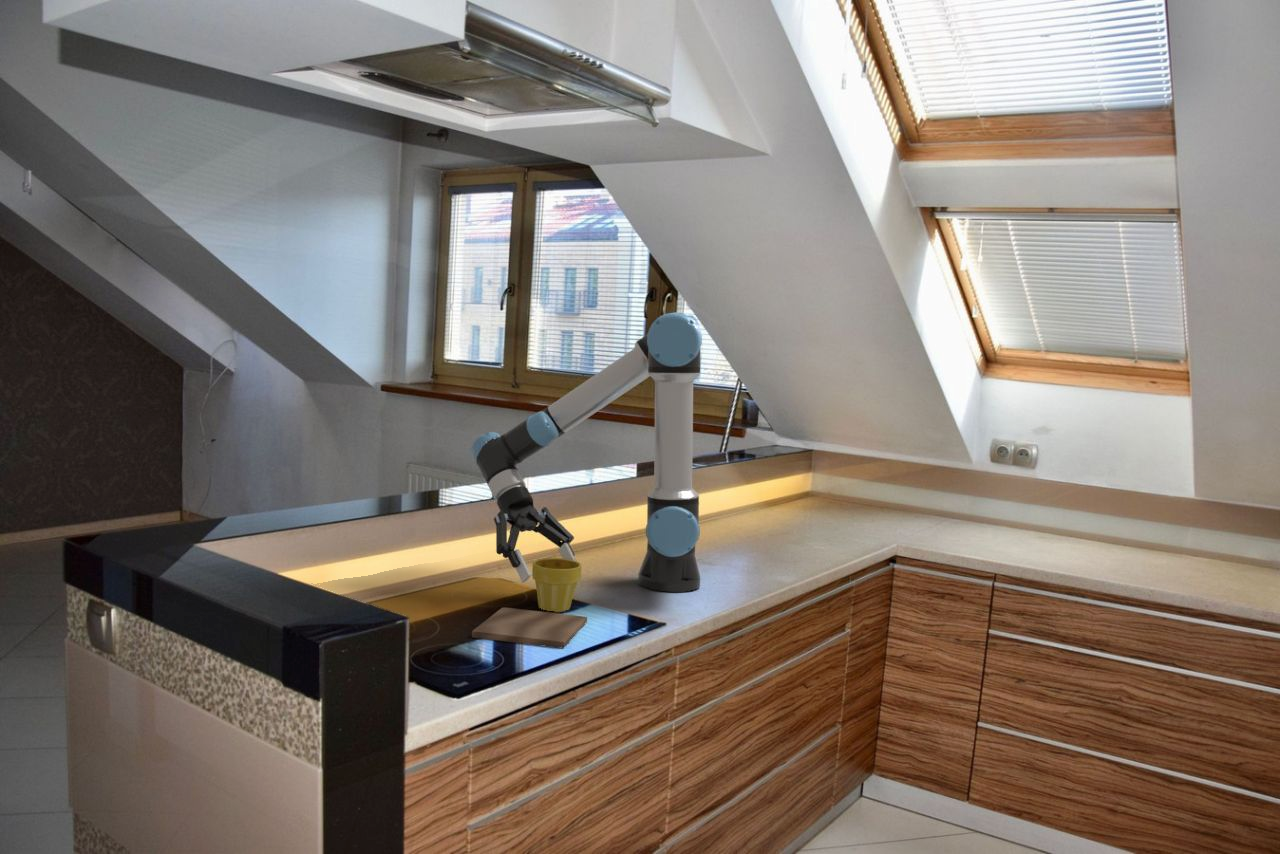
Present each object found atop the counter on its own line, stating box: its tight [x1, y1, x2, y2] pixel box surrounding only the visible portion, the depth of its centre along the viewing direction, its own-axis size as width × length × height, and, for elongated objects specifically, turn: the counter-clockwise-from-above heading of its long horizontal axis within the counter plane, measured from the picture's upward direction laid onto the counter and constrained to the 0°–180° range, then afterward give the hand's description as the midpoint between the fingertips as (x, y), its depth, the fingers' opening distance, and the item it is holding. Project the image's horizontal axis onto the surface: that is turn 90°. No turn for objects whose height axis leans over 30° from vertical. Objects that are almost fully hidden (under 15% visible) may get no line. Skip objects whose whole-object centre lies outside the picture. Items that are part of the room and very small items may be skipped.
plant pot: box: [531, 557, 582, 613], centre depth 204 cm, size 10×10×10 cm
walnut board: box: [471, 606, 588, 649], centre depth 187 cm, size 18×18×1 cm
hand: (551, 574), depth 204 cm, fingers open, 13 cm apart
